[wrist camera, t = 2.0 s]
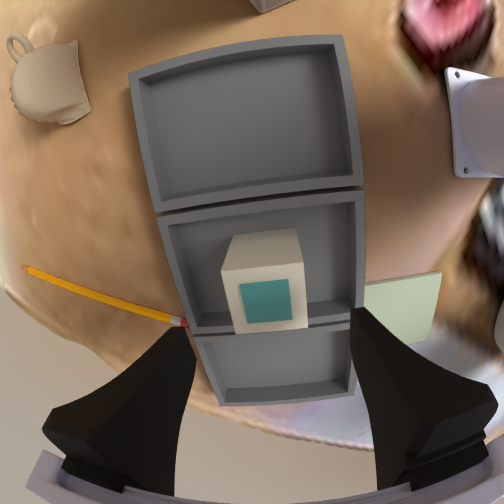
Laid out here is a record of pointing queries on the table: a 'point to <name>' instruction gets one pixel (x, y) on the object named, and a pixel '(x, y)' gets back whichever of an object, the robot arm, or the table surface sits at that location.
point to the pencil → (107, 298)
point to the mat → (405, 304)
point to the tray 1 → (248, 121)
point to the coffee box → (267, 4)
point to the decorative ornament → (48, 82)
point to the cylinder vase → (500, 328)
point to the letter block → (265, 282)
